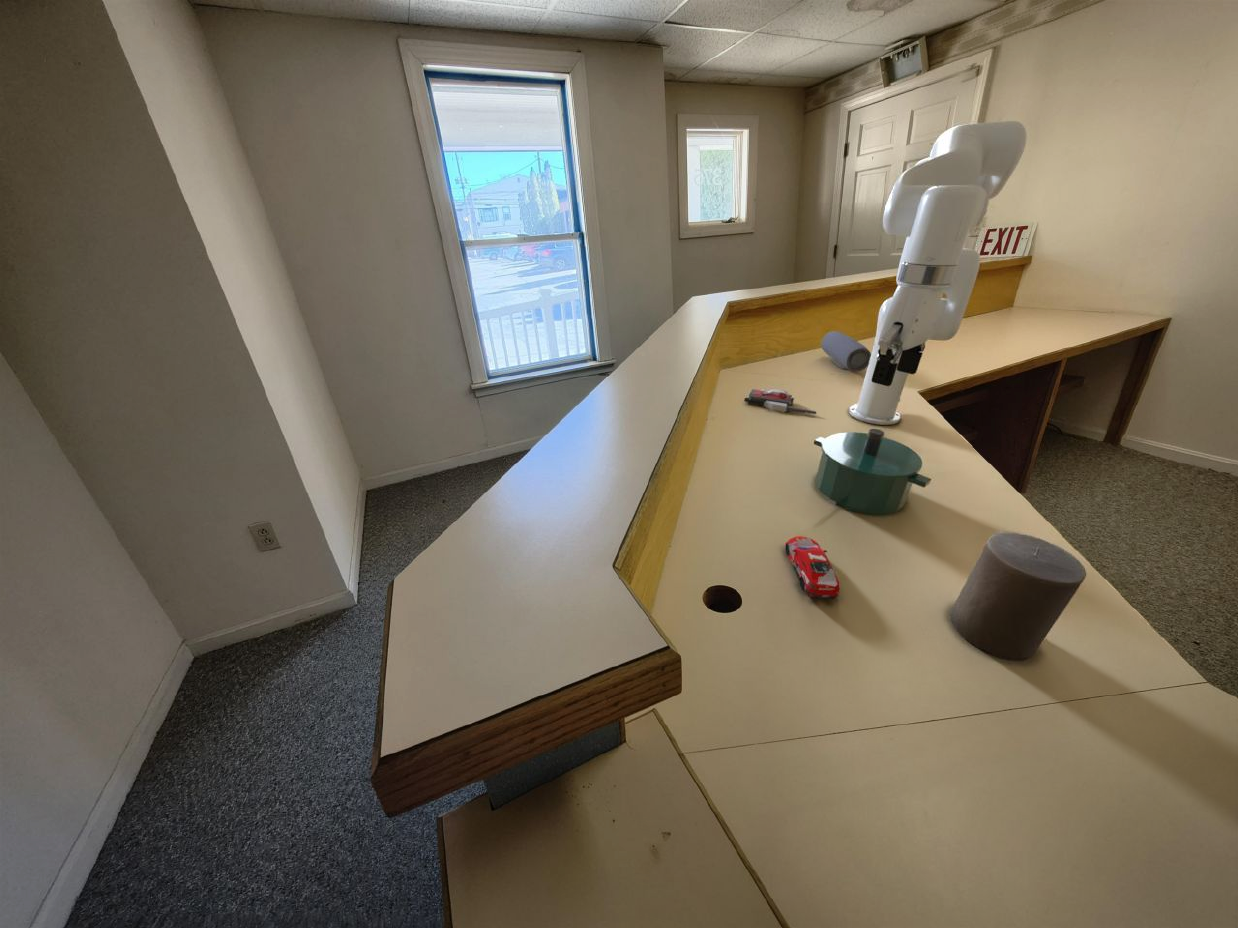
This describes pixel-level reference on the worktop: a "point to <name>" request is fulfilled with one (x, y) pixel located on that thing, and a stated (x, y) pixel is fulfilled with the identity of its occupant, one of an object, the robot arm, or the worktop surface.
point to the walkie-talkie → (774, 400)
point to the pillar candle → (1015, 594)
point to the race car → (812, 568)
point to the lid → (871, 454)
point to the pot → (864, 488)
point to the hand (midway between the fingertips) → (893, 377)
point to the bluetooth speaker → (846, 351)
